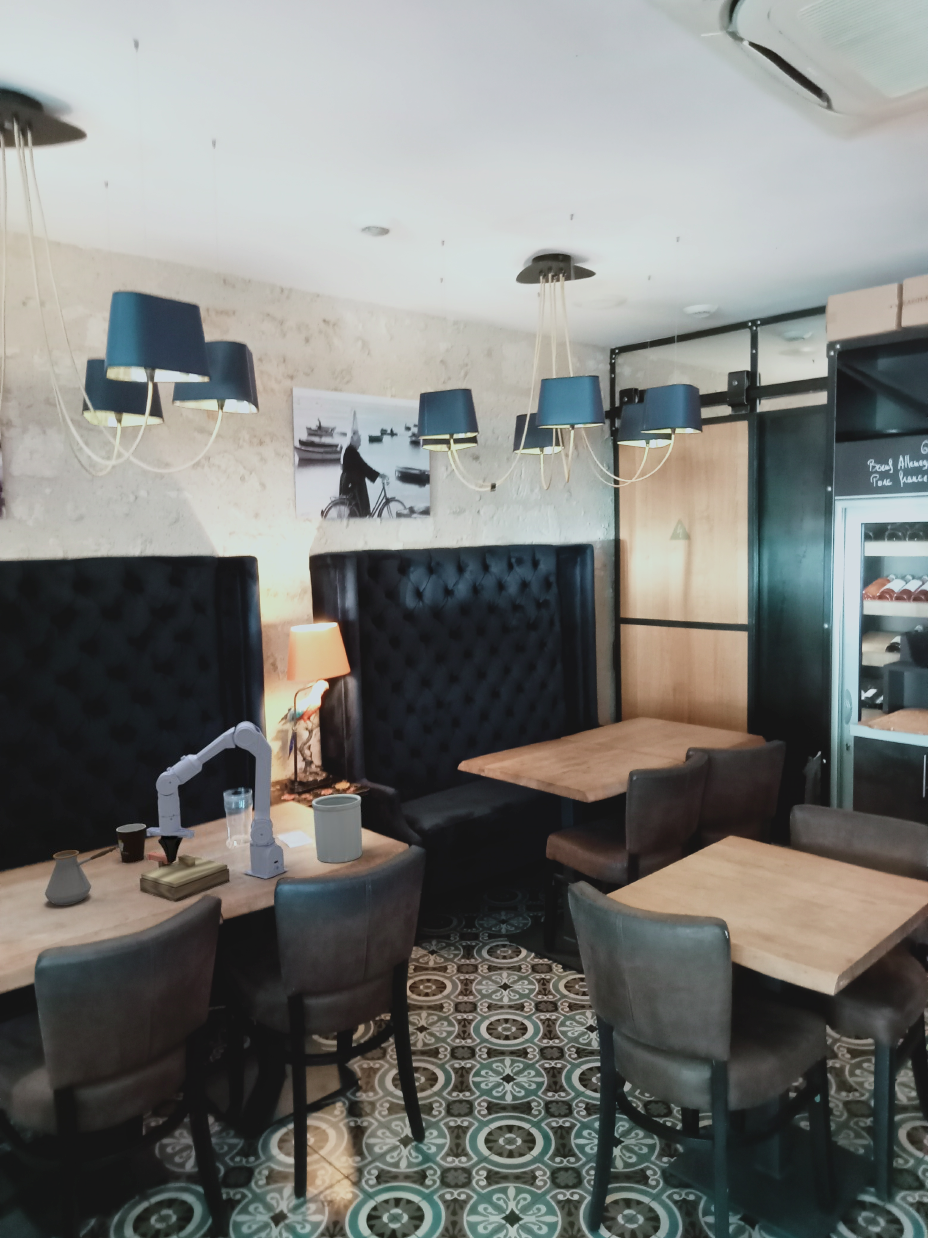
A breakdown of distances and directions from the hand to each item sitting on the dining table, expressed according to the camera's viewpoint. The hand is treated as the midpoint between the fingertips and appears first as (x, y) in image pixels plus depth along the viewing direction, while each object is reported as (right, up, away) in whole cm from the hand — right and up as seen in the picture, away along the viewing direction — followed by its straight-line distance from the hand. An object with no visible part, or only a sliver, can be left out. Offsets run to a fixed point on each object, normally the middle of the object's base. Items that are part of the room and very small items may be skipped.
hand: (172, 861), depth 247 cm
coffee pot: (-20, -8, -11) cm, 24 cm away
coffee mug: (-20, -6, +24) cm, 32 cm away
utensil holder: (+45, -4, +18) cm, 49 cm away
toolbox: (+5, -6, -3) cm, 8 cm away
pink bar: (-5, -1, +3) cm, 6 cm away
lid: (+5, -2, -3) cm, 6 cm away
